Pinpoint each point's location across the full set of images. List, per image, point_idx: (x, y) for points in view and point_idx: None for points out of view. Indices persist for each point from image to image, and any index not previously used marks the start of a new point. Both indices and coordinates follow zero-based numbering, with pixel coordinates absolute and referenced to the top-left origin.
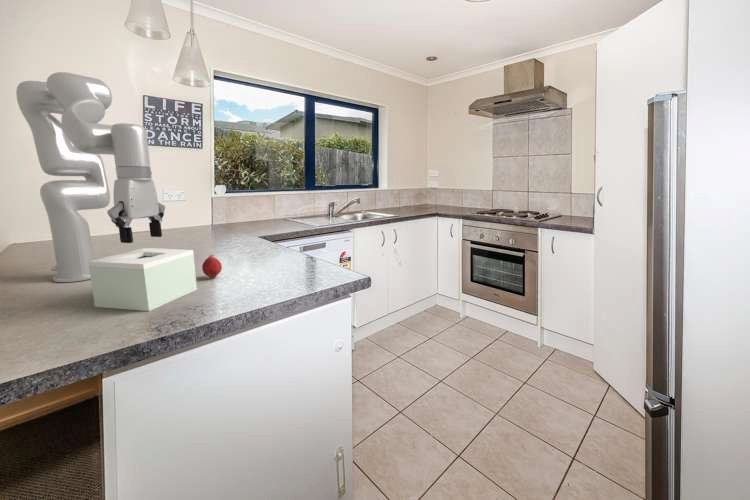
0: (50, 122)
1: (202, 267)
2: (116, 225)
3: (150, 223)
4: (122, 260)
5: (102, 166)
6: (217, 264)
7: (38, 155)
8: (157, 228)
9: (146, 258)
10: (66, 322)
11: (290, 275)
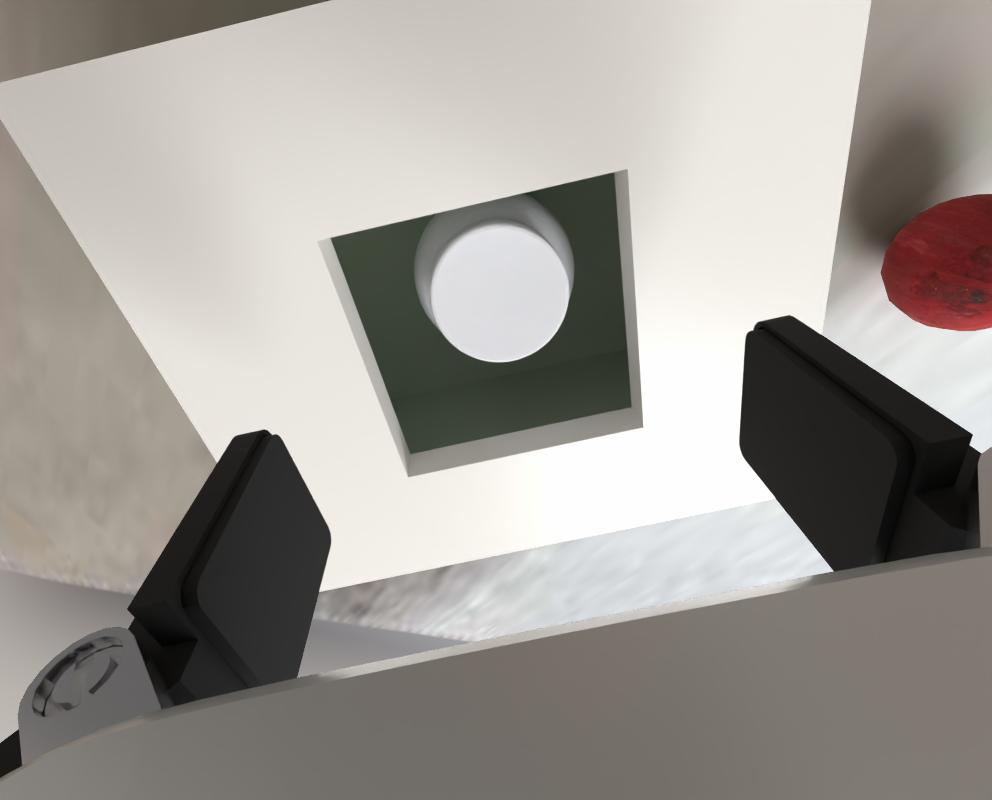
0: None
1: (934, 235)
2: (46, 692)
3: (890, 470)
4: (265, 387)
5: None
6: (959, 330)
7: None
8: (807, 511)
9: (507, 340)
10: (36, 220)
11: None
